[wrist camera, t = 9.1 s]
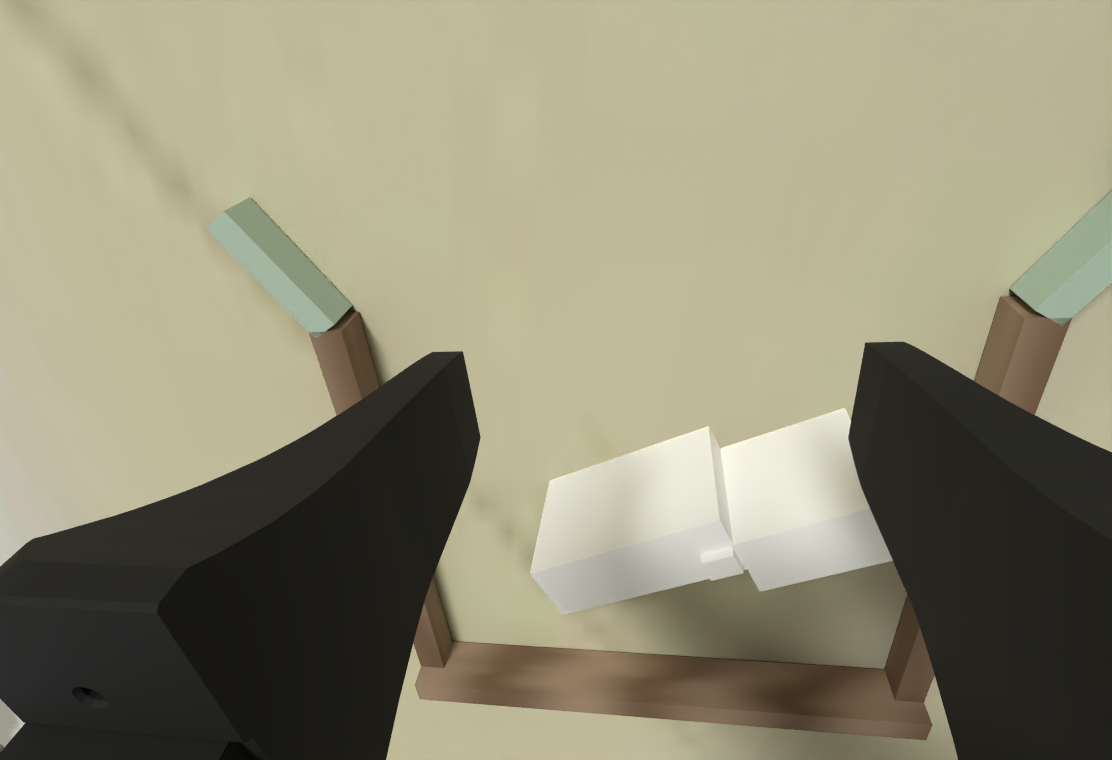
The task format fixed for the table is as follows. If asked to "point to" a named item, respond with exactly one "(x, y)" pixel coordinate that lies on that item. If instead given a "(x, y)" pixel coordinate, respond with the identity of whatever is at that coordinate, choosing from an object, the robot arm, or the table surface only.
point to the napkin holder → (707, 516)
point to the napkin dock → (676, 681)
